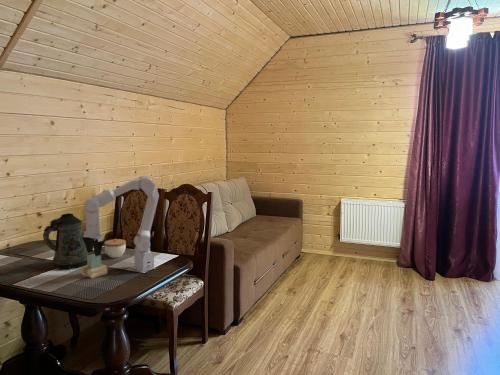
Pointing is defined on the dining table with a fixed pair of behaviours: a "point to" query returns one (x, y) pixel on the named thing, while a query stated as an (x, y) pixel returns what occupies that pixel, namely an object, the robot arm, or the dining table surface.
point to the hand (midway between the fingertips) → (93, 253)
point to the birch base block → (93, 271)
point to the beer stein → (67, 242)
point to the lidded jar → (115, 247)
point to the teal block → (93, 261)
